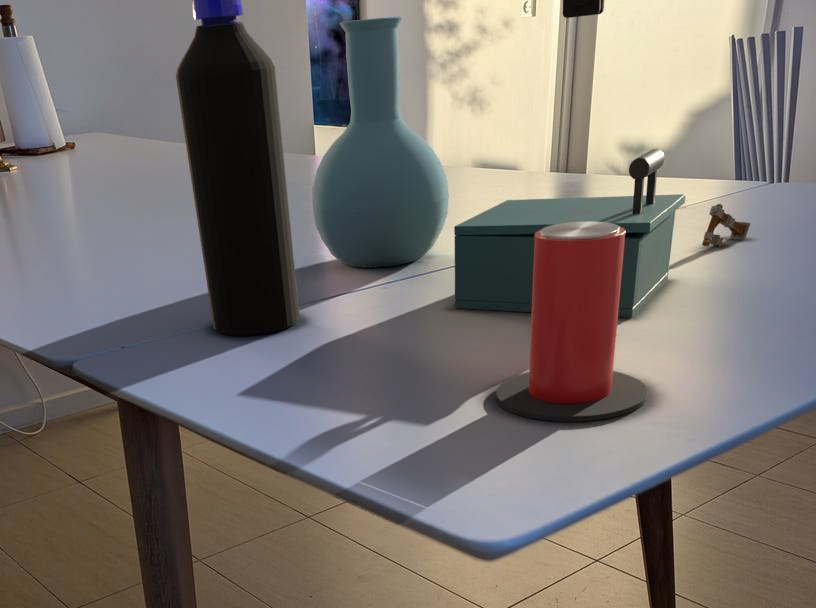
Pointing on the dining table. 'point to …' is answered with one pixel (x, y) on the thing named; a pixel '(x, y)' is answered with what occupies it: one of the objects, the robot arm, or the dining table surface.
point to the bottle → (237, 173)
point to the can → (575, 311)
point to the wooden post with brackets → (726, 220)
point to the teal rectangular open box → (513, 269)
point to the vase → (378, 164)
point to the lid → (583, 207)
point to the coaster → (619, 402)
